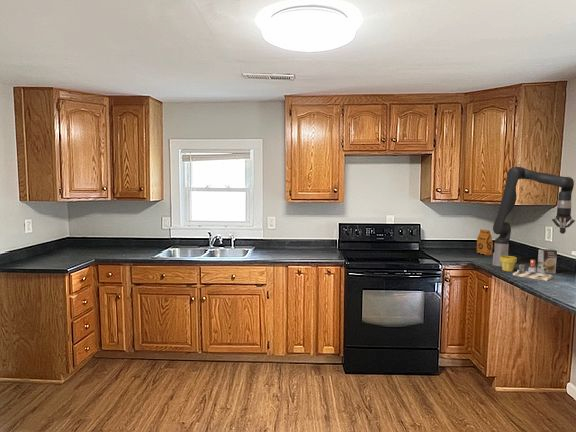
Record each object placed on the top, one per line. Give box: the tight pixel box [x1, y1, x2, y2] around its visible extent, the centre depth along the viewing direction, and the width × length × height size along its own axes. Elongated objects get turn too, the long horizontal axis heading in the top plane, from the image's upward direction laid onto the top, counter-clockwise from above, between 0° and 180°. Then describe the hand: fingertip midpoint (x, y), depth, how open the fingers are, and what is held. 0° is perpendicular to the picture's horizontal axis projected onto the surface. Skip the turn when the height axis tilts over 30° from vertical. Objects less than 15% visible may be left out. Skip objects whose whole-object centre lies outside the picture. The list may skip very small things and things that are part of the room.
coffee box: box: [536, 248, 558, 274], centre depth 271 cm, size 9×6×16 cm
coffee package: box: [476, 229, 494, 256], centre depth 343 cm, size 10×12×22 cm
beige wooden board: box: [512, 263, 554, 282], centre depth 258 cm, size 20×12×6 cm, turn 41°
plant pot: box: [500, 255, 518, 272], centre depth 277 cm, size 10×10×10 cm
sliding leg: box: [527, 259, 537, 274], centre depth 259 cm, size 4×8×9 cm, turn 131°
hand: (562, 233), depth 257 cm, fingers closed
